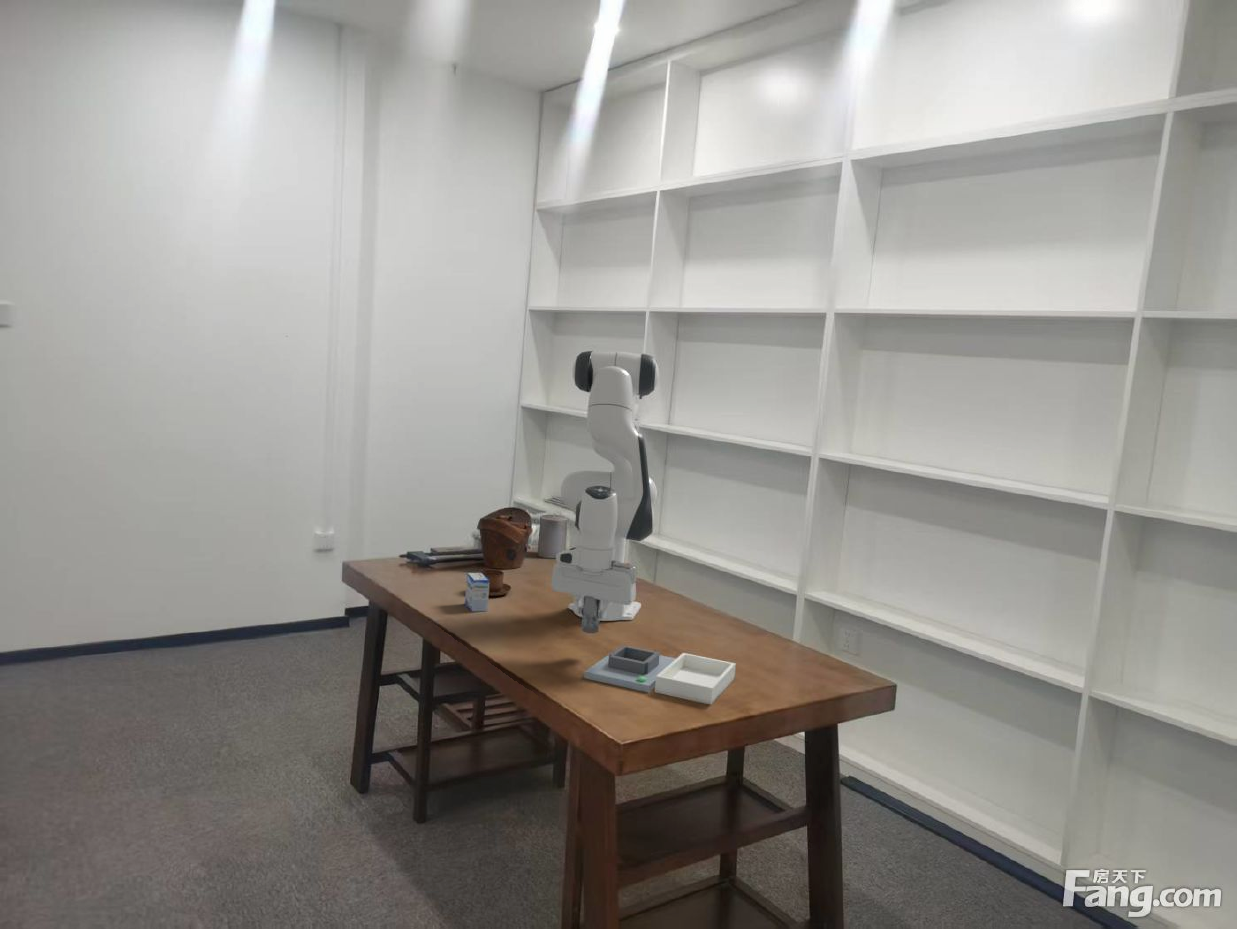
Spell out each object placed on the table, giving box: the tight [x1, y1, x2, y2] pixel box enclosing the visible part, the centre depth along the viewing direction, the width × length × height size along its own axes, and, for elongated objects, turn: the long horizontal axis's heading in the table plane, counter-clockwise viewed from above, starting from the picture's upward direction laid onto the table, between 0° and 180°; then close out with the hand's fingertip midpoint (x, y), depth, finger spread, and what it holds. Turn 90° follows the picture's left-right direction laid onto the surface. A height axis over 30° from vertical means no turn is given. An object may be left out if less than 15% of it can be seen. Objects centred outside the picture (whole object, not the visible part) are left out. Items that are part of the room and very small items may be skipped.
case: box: [476, 506, 533, 570], centre depth 288 cm, size 18×20×18 cm
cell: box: [581, 596, 601, 634], centre depth 204 cm, size 4×4×9 cm
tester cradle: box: [583, 644, 677, 693], centre depth 197 cm, size 20×15×4 cm
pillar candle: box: [537, 513, 569, 559], centre depth 307 cm, size 10×10×15 cm
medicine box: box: [464, 572, 489, 613], centre depth 238 cm, size 8×4×9 cm, turn 23°
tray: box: [654, 652, 737, 706], centre depth 192 cm, size 18×12×4 cm
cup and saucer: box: [477, 568, 512, 597], centre depth 254 cm, size 12×12×6 cm
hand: (591, 615), depth 205 cm, fingers closed on cell, 4 cm apart
